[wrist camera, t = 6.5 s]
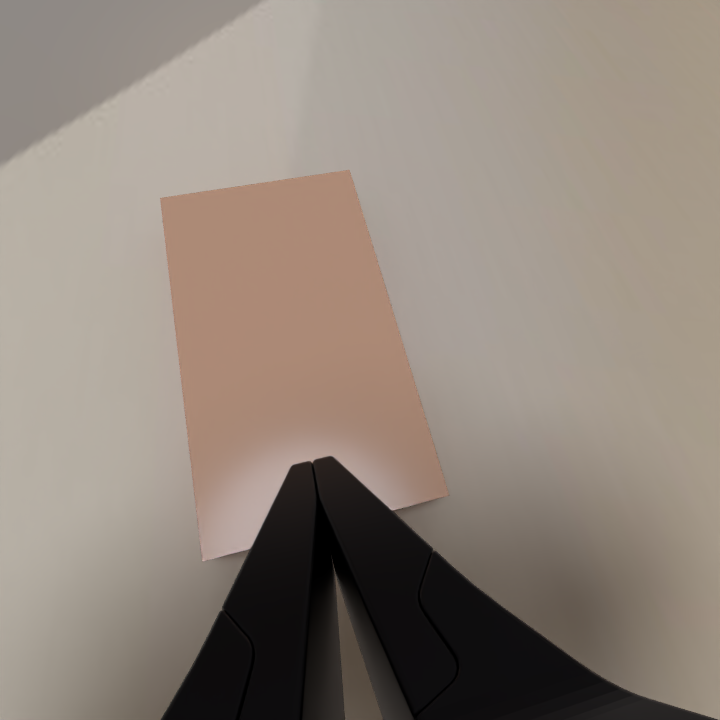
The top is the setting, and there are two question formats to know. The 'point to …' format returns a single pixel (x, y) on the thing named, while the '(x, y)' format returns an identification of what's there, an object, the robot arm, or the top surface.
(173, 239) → the tile
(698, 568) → the top surface
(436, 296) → the top surface
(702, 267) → the top surface
